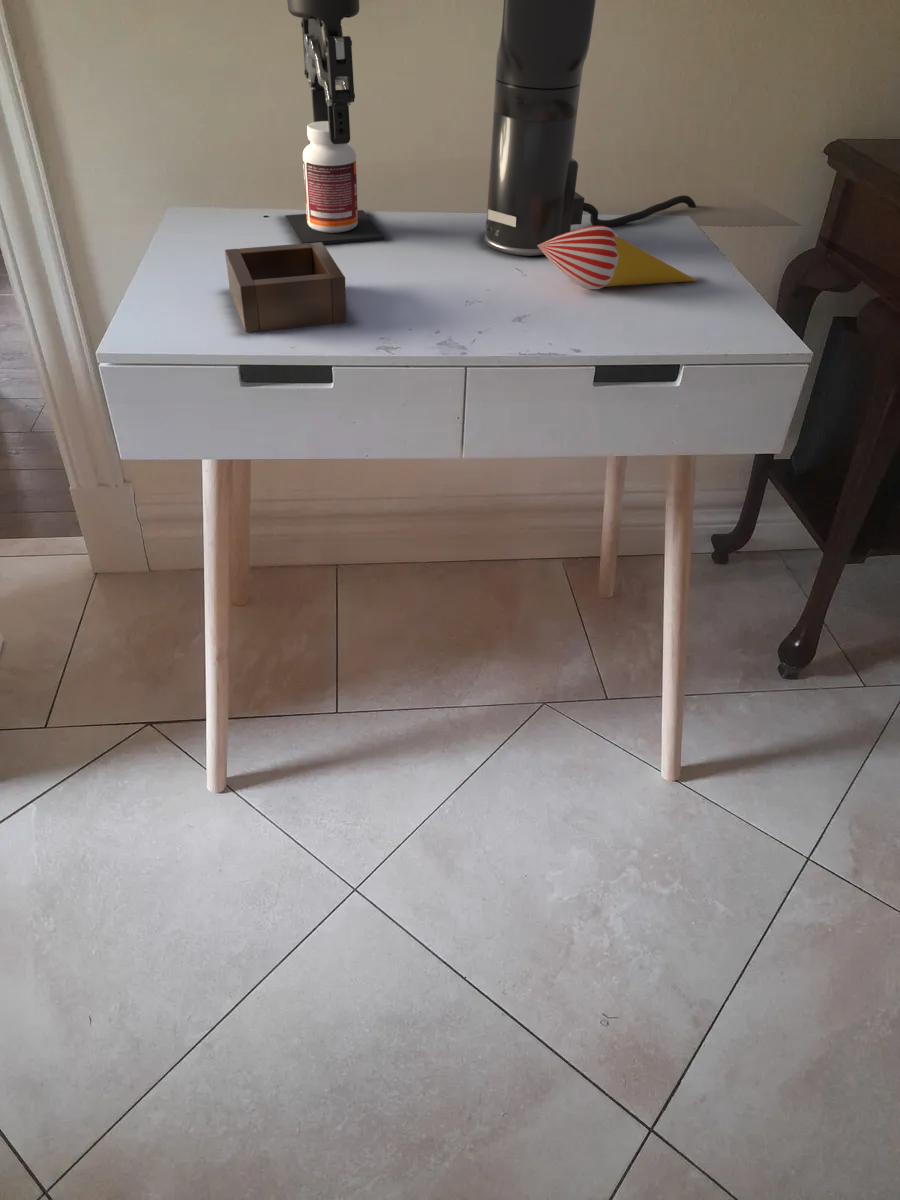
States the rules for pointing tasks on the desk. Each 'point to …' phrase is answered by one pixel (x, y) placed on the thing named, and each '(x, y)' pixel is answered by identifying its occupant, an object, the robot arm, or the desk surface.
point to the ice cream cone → (606, 260)
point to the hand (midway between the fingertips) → (331, 133)
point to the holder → (286, 286)
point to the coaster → (359, 233)
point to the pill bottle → (329, 182)
